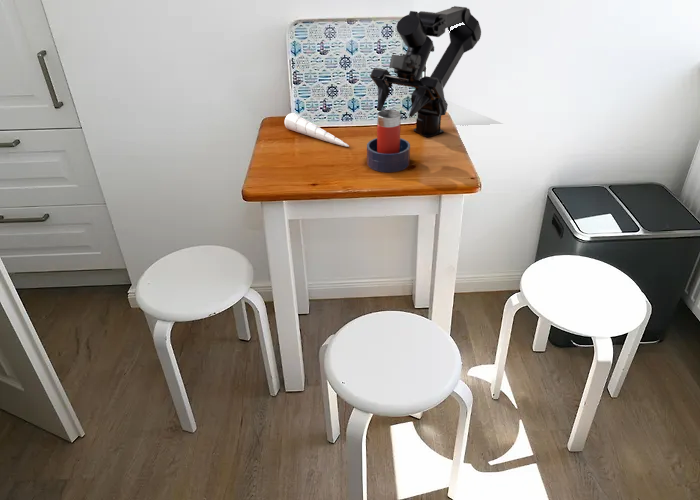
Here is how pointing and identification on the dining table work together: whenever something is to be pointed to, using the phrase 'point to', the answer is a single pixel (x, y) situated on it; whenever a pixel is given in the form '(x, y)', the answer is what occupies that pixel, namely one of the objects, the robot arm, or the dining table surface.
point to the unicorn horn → (310, 129)
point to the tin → (388, 131)
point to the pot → (388, 157)
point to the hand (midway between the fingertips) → (394, 112)
